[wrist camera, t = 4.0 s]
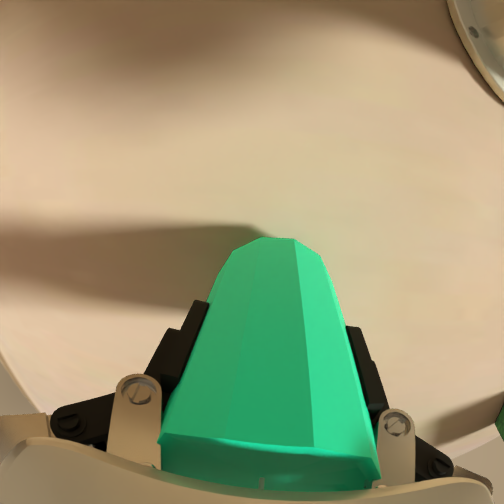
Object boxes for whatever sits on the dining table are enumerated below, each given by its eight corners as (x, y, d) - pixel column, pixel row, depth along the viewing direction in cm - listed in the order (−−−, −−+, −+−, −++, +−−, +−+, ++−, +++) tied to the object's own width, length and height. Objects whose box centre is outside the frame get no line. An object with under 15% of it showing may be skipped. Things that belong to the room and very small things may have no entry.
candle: (323, 224, 13) (421, 492, 2) (336, 326, 15) (375, 542, 4) (202, 248, 14) (68, 478, 3) (233, 342, 16) (188, 545, 5)
